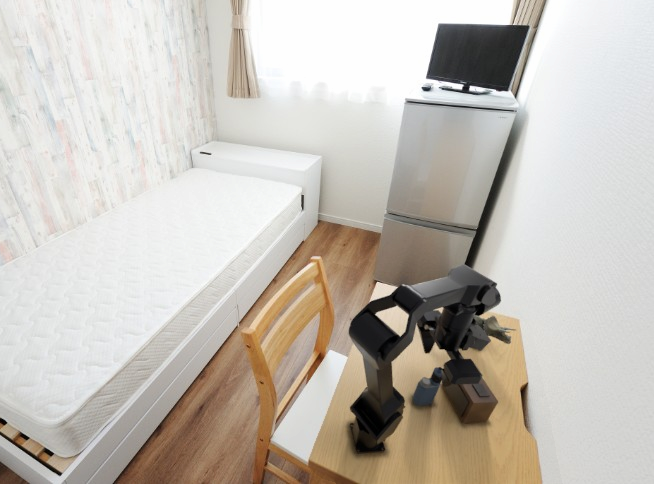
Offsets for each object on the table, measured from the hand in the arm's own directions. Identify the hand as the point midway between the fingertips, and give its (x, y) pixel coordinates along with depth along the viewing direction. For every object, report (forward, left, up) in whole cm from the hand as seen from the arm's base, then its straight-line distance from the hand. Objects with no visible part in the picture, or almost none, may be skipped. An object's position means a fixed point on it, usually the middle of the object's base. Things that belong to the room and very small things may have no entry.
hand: (435, 368), depth 81 cm
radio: (+10, -2, -12) cm, 15 cm away
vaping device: (0, 0, -12) cm, 12 cm away
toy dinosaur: (+21, +19, -12) cm, 31 cm away
